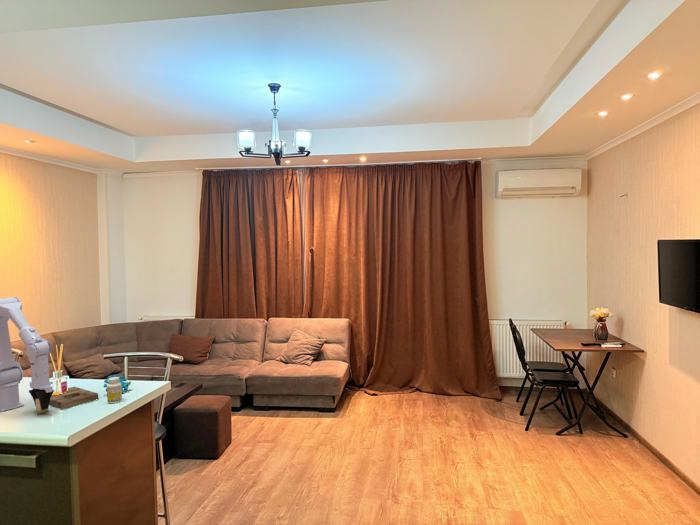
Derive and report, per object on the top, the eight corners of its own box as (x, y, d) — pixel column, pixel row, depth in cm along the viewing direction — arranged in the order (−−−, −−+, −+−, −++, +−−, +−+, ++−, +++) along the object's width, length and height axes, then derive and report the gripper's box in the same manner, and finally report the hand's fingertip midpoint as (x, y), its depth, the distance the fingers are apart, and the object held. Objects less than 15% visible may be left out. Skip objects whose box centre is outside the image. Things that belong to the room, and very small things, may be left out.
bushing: (34, 413, 184) (33, 398, 183) (45, 410, 187) (44, 395, 187) (39, 415, 181) (38, 399, 181) (50, 412, 185) (49, 397, 184)
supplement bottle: (118, 403, 193) (116, 380, 192) (104, 404, 193) (103, 380, 192) (124, 399, 198) (123, 376, 198) (111, 399, 198) (110, 376, 198)
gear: (105, 394, 200) (103, 374, 206) (102, 402, 203) (99, 382, 209) (133, 392, 207) (130, 372, 213) (129, 399, 210) (126, 380, 216)
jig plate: (39, 401, 199) (39, 395, 199) (74, 392, 210) (74, 386, 210) (62, 409, 187) (62, 403, 187) (98, 399, 199) (98, 393, 199)
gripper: (60, 372, 183) (62, 408, 183) (42, 368, 191) (44, 402, 192) (39, 377, 177) (42, 413, 177) (22, 372, 185) (25, 407, 186)
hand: (42, 408), depth 184 cm, fingers closed on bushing, 4 cm apart
